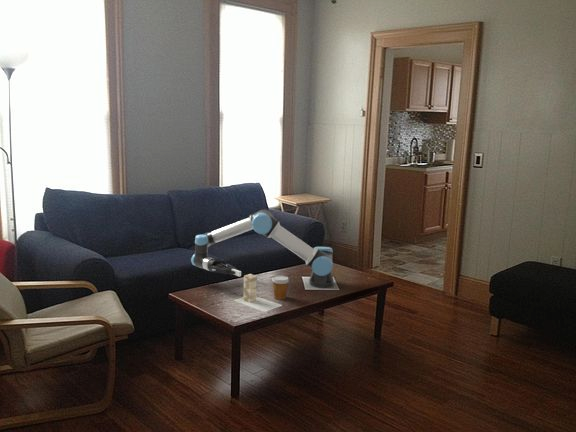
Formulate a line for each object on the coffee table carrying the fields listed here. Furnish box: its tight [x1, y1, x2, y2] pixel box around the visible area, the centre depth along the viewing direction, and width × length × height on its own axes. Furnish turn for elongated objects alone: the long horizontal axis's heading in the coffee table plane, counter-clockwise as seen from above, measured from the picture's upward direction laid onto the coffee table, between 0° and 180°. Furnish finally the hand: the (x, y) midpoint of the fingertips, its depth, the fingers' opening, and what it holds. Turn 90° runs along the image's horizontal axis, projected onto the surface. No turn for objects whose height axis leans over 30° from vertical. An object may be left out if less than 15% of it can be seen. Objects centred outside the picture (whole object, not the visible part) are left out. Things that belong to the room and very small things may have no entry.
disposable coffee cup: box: [271, 275, 290, 301], centre depth 295 cm, size 10×10×12 cm
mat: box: [233, 295, 283, 313], centre depth 287 cm, size 24×14×1 cm, turn 49°
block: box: [242, 273, 258, 302], centre depth 289 cm, size 5×5×14 cm
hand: (240, 273), depth 293 cm, fingers closed
